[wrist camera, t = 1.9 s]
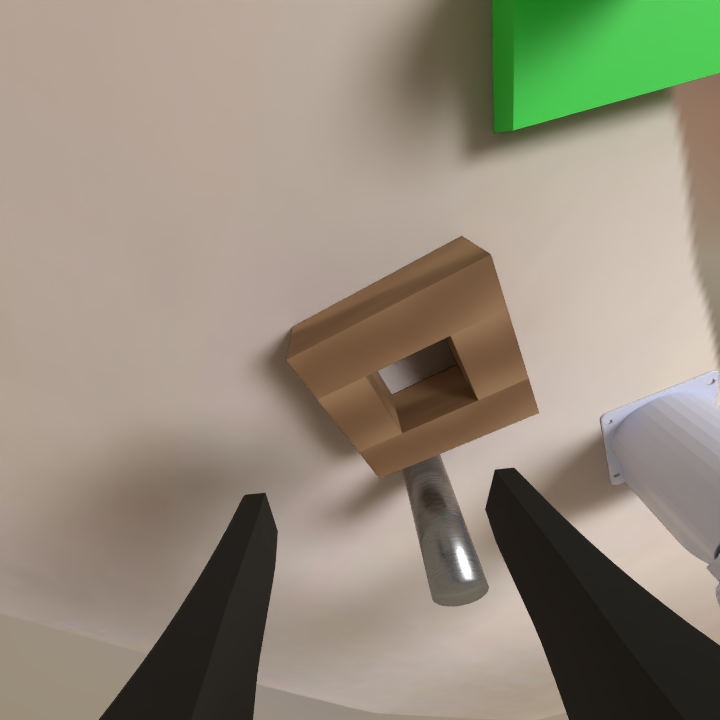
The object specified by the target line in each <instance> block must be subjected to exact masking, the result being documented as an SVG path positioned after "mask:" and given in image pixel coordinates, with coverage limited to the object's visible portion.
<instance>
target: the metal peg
mask: <svg viewBox="0 0 720 720" xmlns="http://www.w3.org/2000/svg"><path fill="white" fill-rule="evenodd" d="M402 470H403V475H404V479H405V483H406V488H407V492H408V496H409V500H410V505H411V509H412V513H413V518H414V522H415V526H416V531H417V535H418V539H419V543H420V548H421V552H422V556H423V561H424V565H425V569H426V573H427V578H428V582H429V586H430V591H431V595H432V599H433V601H434V602H435V603H437V604H439V605H442V606H461V605H465V604H469V603H472V602H474V601H476V600H478V599H480V598H482V597H483V596H484V595H485V594H486V593H487V592H488V589H489V587H488V584H487V581H486V578H485V575H484V573H483V570H482V567H481V565H480V562H479V559H478V556H477V554H476V551H475V548H474V545H473V543H472V540H471V537H470V535H469V532H468V529H467V526H466V524H465V521H464V518H463V516H462V513H461V510H460V507H459V505H458V502H457V499H456V497H455V494H454V491H453V488H452V486H451V483H450V480H449V478H448V475H447V472H446V469H445V467H444V464H443V461H442V459H441V456H440V454H438V455H436V456H433V457H431V458H429V459H426V460H424V461H421V462H419V463H417V464H414V465H412V466H409V467H407V468H404V469H402Z"/></svg>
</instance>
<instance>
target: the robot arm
mask: <svg viewBox="0 0 720 720" xmlns="http://www.w3.org/2000/svg"><path fill="white" fill-rule="evenodd" d="M712 379H714V381H713V382H712V383H711V384H708V382H709V381H710V380H712ZM718 380H719V372H718V371H716V370H714V371H710V372H708V373H705V374H703V375H700V376H698V377H695V378H693V379H690V380H688V381H685V382H682V383H680V384H677V385H675V386H672V387H670V388H667V389H665V390H662V391H660V392H657V393H655V394H652V395H650V396H647V397H645V398H642V399H640V400H637V401H635V402H632V403H630V404H627V405H625V406H622V407H620V408H617V409H615V410H612V411H610V412H607V413H605V414H604V415H602V417H601V419H600V421H601V427H602V433H603V439H604V445H605V451H606V457H607V463H608V469H609V475H610V481H611V484H612V485H619V484H622V483H626V484H627V485H628V486H629V487H630V488H631V490H632V491H633V492H634V493H635V494H636V495H637V496H638V497H639V498H640V500H641V501H642V502H643V503H644V504H645V505H646V506H647V507H648V508H649V510H650V511H651V512H652V513H653V514H654V515H655V516H656V517H657V519H658V520H659V521H660V522H661V523H662V524H663V525H664V526H665V527H666V529H667V530H668V531H669V532H670V533H671V534H672V535H673V536H674V537H675V539H676V540H677V541H678V542H679V543H680V544H681V545H682V546H683V547H684V548H685V549H686V550H688V551H689V552H690V553H691V554H693V555H694V556H696V557H697V558H699V559H700V560H702V561H704V562H706V563H708V564H710V565H708V566H707V569H708V570H709V571H710V573H711V574H712V575H713V576H714V577H715V578H716V579H717V580H718V581H719V584H718V586H717V587H716V597H717V601H718V604H719V606H720V406H719V405H717V404H716V400H717V390H718ZM608 420H612V421H611V422H610V423H609V424H605V423H606V422H607V421H608ZM618 473H619V475H618V476H615V477H614V475H615V474H618ZM485 510H486V513H487V516H488V519H489V522H490V525H491V528H492V531H493V534H494V537H495V540H496V543H497V545H498V547H499V549H500V552H501V554H502V556H503V558H504V561H505V563H506V565H507V567H508V569H509V572H510V574H511V576H512V578H513V580H514V582H515V585H516V587H517V589H518V591H519V593H520V595H521V598H522V600H523V602H524V604H525V606H526V608H527V611H528V613H529V615H530V617H531V619H532V622H533V624H534V626H535V629H536V631H537V633H538V636H539V638H540V640H541V643H542V646H543V648H544V651H545V654H546V657H547V659H548V662H549V665H550V667H551V670H552V673H553V676H554V678H555V681H556V684H557V687H558V690H559V692H560V695H561V698H562V701H563V704H564V707H565V710H566V712H567V715H568V718H569V720H720V645H718V644H717V643H716V642H714V641H713V640H711V639H710V638H709V637H707V636H706V635H704V634H703V633H702V632H700V631H699V630H697V629H696V628H695V627H693V626H692V625H690V624H689V623H688V622H686V621H685V620H684V619H683V618H681V617H680V616H679V615H677V614H676V613H675V612H673V611H672V610H671V609H669V608H668V607H667V606H666V605H664V604H663V603H662V602H660V601H659V600H658V599H657V598H655V597H654V596H653V595H652V594H650V593H649V592H648V591H647V590H645V589H644V588H643V587H642V586H640V585H639V584H638V583H637V582H636V581H634V580H633V579H632V578H631V577H629V576H628V575H627V574H626V573H625V572H624V571H622V570H621V569H620V568H619V567H618V566H617V565H615V564H614V563H613V562H612V561H611V560H610V559H609V558H607V557H606V556H605V555H604V554H603V553H602V552H601V551H599V550H598V549H597V548H596V547H595V546H594V545H593V544H592V543H591V542H590V541H588V540H587V539H586V538H585V537H584V536H583V535H582V534H581V533H580V532H579V531H578V530H577V529H576V528H575V527H573V526H572V525H571V524H570V523H569V522H568V521H567V520H566V519H565V518H564V517H563V516H562V515H561V514H560V513H559V512H558V511H557V510H556V509H555V508H554V507H553V506H552V505H551V504H550V503H549V502H548V501H547V500H546V499H545V498H544V497H543V496H542V495H541V494H540V493H539V492H538V491H537V490H536V489H535V488H534V487H533V486H532V485H531V484H530V483H529V482H528V481H527V480H526V479H525V478H524V477H523V476H522V475H521V474H520V473H519V472H518V471H517V470H516V469H515V468H506V469H496V470H495V472H494V476H493V480H492V484H491V488H490V492H489V496H488V500H487V505H486V509H485ZM277 534H278V531H277V528H276V524H275V521H274V518H273V515H272V512H271V509H270V506H269V502H268V499H267V496H266V493H259V494H249V495H245V496H244V497H243V498H242V500H241V502H240V504H239V506H238V508H237V510H236V512H235V514H234V516H233V518H232V520H231V522H230V524H229V526H228V528H227V529H226V531H225V533H224V535H223V537H222V539H221V540H220V542H219V544H218V546H217V548H216V549H215V551H214V553H213V555H212V556H211V558H210V560H209V561H208V563H207V565H206V567H205V568H204V570H203V572H202V573H201V575H200V577H199V578H198V580H197V582H196V583H195V585H194V586H193V588H192V590H191V591H190V593H189V594H188V596H187V597H186V599H185V601H184V602H183V604H182V605H181V607H180V609H179V610H178V612H177V613H176V615H175V616H174V618H173V619H172V621H171V622H170V624H169V625H168V627H167V628H166V630H165V631H164V633H163V634H162V635H161V637H160V638H159V640H158V641H157V643H156V644H155V645H154V647H153V648H152V650H151V651H150V652H149V654H148V655H147V657H146V658H145V659H144V661H143V662H142V664H141V665H140V666H139V668H138V669H137V670H136V672H135V673H134V674H133V676H132V677H131V678H130V680H129V681H128V682H127V684H126V685H125V686H124V688H123V689H122V690H121V692H120V693H119V694H118V696H117V697H116V698H115V700H114V701H113V702H112V703H111V705H110V706H109V707H108V709H107V710H106V711H105V712H104V714H103V715H102V716H101V717H100V719H99V720H253V713H254V703H255V692H256V682H257V673H258V666H259V659H260V653H261V647H262V641H263V635H264V630H265V624H266V618H267V612H268V606H269V601H270V595H271V589H272V583H273V577H274V571H275V562H276V549H277Z"/></svg>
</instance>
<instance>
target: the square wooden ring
mask: <svg viewBox="0 0 720 720" xmlns="http://www.w3.org/2000/svg"><path fill="white" fill-rule="evenodd" d="M443 339H446V341H447V343H448V346H449V348H450V350H451V352H452V355H453V357H454V359H455V361H456V364H457V365H456V366H453V367H451V368H449V369H447V370H445V371H443V372H440V373H438V374H436V375H434V376H432V377H430V378H427V379H425V380H423V381H421V382H419V383H417V384H414V385H412V386H410V387H408V388H406V389H404V390H401V391H399V392H397V393H395V394H393V395H392V394H391V392H390V391H389V389H388V388H387V386H386V384H385V383H384V381H383V379H382V378H381V376H380V375H379V373H378V370H380V369H382V368H384V367H386V366H389V365H391V364H393V363H395V362H397V361H399V360H401V359H403V358H405V357H407V356H409V355H411V354H413V353H416V352H418V351H420V350H422V349H424V348H426V347H428V346H430V345H432V344H434V343H436V342H438V341H441V340H443ZM286 361H287V362H288V363H289V364H290V366H291V367H292V368H293V370H294V371H295V372H296V373H297V375H298V376H299V377H300V378H301V380H302V381H303V382H304V383H305V385H306V386H307V387H308V389H309V390H310V391H311V392H312V394H313V395H314V396H315V397H316V399H317V400H318V401H319V402H320V404H321V405H322V406H323V408H324V409H325V410H326V411H327V413H328V414H329V415H330V416H331V418H332V419H333V420H334V421H335V423H336V424H337V425H338V427H339V428H340V429H341V430H342V432H343V433H344V434H345V435H346V437H347V438H348V439H349V440H350V442H351V443H352V444H353V446H354V447H355V448H356V449H357V451H358V452H359V453H360V454H361V456H362V457H363V458H364V459H365V461H366V462H367V463H368V464H369V466H370V467H371V468H372V470H373V471H374V472H375V473H376V475H377V476H378V477H379V478H383V477H385V476H387V475H390V474H392V473H395V472H397V471H400V470H402V469H404V468H407V467H409V466H412V465H414V464H417V463H419V462H421V461H424V460H426V459H429V458H431V457H433V456H436V455H438V454H441V453H443V452H446V451H448V450H450V449H453V448H455V447H458V446H460V445H463V444H465V443H467V442H470V441H472V440H475V439H477V438H480V437H482V436H484V435H487V434H489V433H492V432H494V431H496V430H499V429H501V428H504V427H506V426H509V425H511V424H513V423H516V422H518V421H521V420H523V419H526V418H528V417H530V416H533V415H535V414H538V413H539V411H538V408H537V404H536V401H535V398H534V395H533V391H532V388H531V385H530V381H529V378H528V375H527V372H526V368H525V365H524V362H523V358H522V355H521V352H520V349H519V345H518V342H517V339H516V335H515V332H514V329H513V326H512V322H511V319H510V316H509V312H508V309H507V306H506V303H505V299H504V296H503V293H502V289H501V286H500V283H499V280H498V276H497V273H496V270H495V267H494V263H493V260H492V257H491V254H489V253H488V252H486V251H485V250H483V249H482V248H480V247H478V246H477V245H475V244H474V243H472V242H471V241H469V240H467V239H466V238H464V237H463V236H461V237H459V238H457V239H455V240H454V241H452V242H450V243H448V244H446V245H444V246H442V247H441V248H439V249H437V250H435V251H433V252H431V253H429V254H427V255H426V256H424V257H422V258H420V259H418V260H416V261H414V262H413V263H411V264H409V265H407V266H405V267H403V268H401V269H400V270H398V271H396V272H394V273H392V274H390V275H388V276H387V277H385V278H383V279H381V280H379V281H377V282H375V283H373V284H372V285H370V286H368V287H366V288H364V289H362V290H360V291H359V292H357V293H355V294H353V295H351V296H349V297H347V298H346V299H344V300H342V301H340V302H338V303H336V304H334V305H332V306H331V307H329V308H327V309H325V310H323V311H321V312H319V313H318V314H316V315H314V316H312V317H310V318H308V319H306V320H305V321H303V322H301V323H299V324H297V325H295V326H293V328H292V333H291V338H290V343H289V348H288V353H287V358H286Z"/></svg>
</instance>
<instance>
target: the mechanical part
mask: <svg viewBox="0 0 720 720" xmlns="http://www.w3.org/2000/svg"><path fill="white" fill-rule="evenodd" d="M492 38H493V99H494V133H496V132H505V131H513V130H517V129H521V128H524V127H528V126H531V125H535V124H538V123H542V122H546V121H549V120H553V119H556V118H560V117H564V116H567V115H571V114H574V113H578V112H581V111H585V110H589V109H592V108H596V107H599V106H603V105H607V104H610V103H614V102H617V101H621V100H624V99H628V98H632V97H635V96H639V95H642V94H646V93H650V92H653V91H657V90H660V89H664V88H667V87H671V86H675V85H678V84H682V83H685V82H689V81H693V80H696V79H700V78H703V77H707V76H710V75H714V74H718V73H720V0H492Z"/></svg>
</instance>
